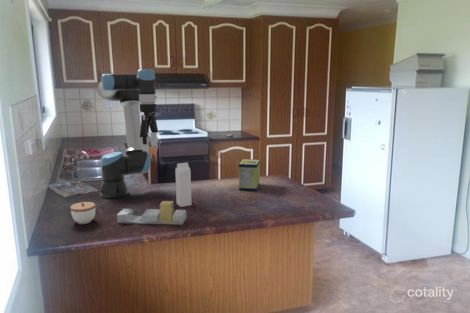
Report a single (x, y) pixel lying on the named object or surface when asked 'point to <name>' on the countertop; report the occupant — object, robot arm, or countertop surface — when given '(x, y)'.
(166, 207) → the nut block
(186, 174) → the milk
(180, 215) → the rail
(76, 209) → the lidded jar
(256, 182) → the protein box
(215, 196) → the countertop surface
